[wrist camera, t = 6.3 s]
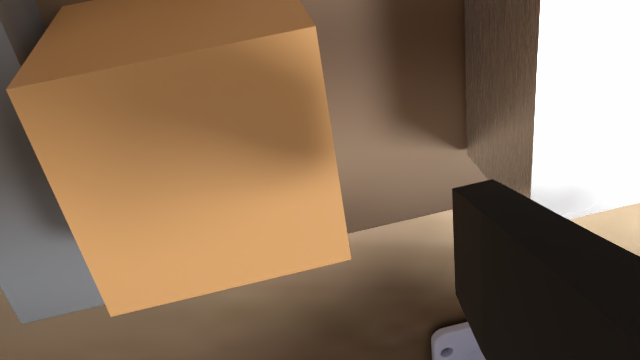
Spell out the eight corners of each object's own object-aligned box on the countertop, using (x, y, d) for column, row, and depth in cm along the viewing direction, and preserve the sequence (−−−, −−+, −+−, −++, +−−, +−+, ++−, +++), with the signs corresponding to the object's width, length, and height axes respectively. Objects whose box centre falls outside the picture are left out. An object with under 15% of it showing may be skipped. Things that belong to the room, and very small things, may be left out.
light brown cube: (310, 148, 17) (351, 259, 13) (130, 188, 16) (110, 317, 12) (277, -36, 14) (315, 26, 10) (62, 6, 14) (6, 89, 9)
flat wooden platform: (642, 137, 21) (731, 199, 17) (54, 272, 19) (25, 369, 16) (706, -254, 15) (859, -276, 11) (-136, -108, 13) (-248, -83, 10)
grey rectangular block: (563, 132, 18) (645, 201, 15) (466, 154, 18) (528, 229, 14) (584, -130, 14) (701, -115, 11) (462, -107, 14) (545, -85, 11)
